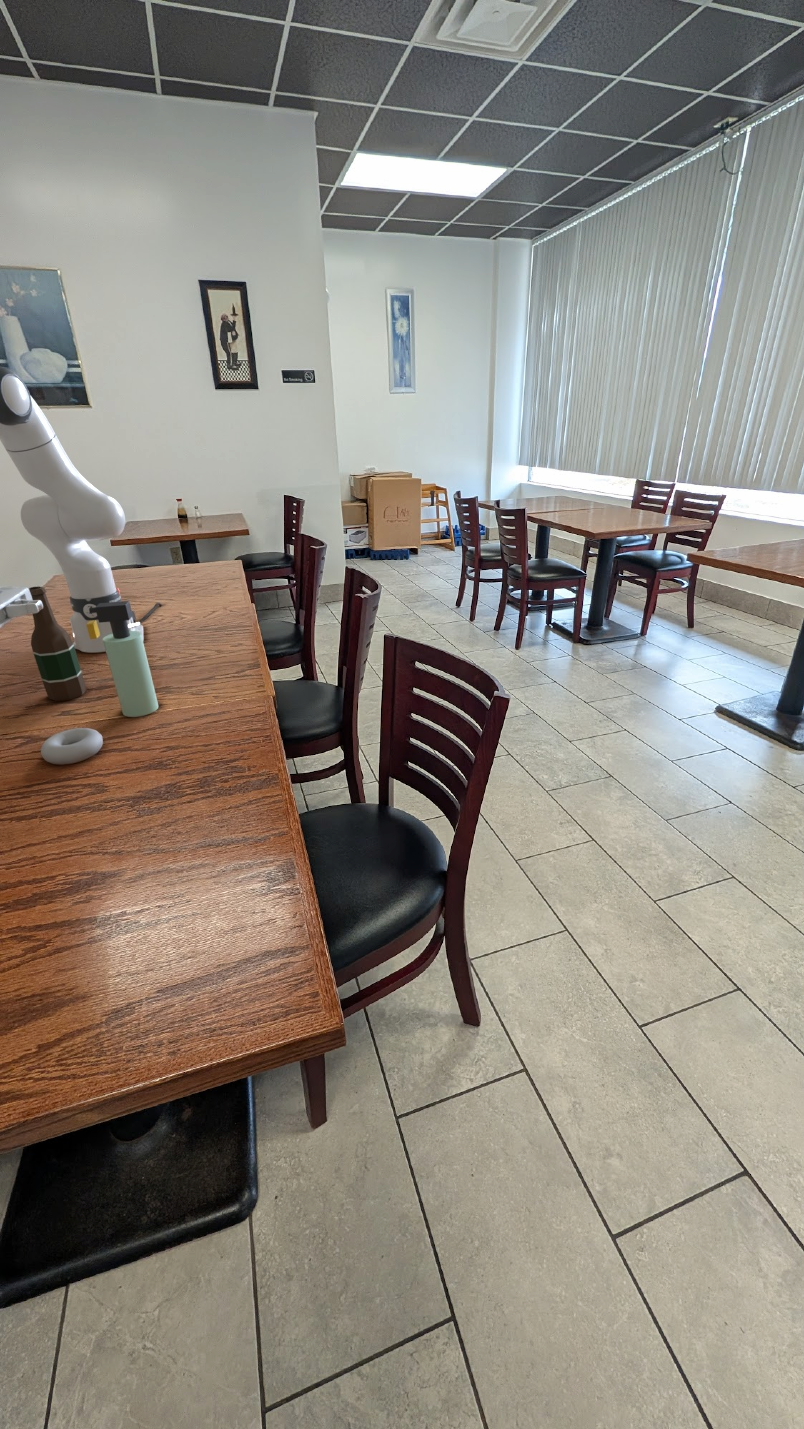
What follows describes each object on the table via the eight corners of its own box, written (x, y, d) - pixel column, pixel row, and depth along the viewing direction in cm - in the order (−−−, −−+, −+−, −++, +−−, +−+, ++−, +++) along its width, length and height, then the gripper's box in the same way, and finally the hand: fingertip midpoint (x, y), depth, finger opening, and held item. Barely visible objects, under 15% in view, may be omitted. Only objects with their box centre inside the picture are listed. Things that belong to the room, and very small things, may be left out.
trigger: (93, 635, 115) (89, 620, 114) (100, 635, 115) (96, 620, 114) (90, 639, 113) (86, 624, 112) (97, 638, 113) (92, 623, 112)
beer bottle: (71, 702, 127) (36, 593, 116) (40, 700, 128) (3, 592, 118) (94, 688, 133) (64, 583, 123) (65, 686, 135) (32, 583, 124)
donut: (74, 772, 100) (117, 744, 108) (68, 755, 98) (112, 727, 107) (31, 764, 103) (75, 737, 112) (24, 747, 102) (70, 721, 110)
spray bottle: (121, 705, 124) (93, 601, 115) (161, 701, 126) (136, 597, 116) (113, 719, 118) (83, 610, 108) (155, 714, 120) (128, 607, 110)
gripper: (-78, 611, 97) (12, 604, 99) (-23, 583, 115) (52, 577, 117) (-63, 647, 100) (24, 639, 102) (-12, 614, 118) (62, 608, 120)
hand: (40, 606), depth 110 cm, fingers closed
